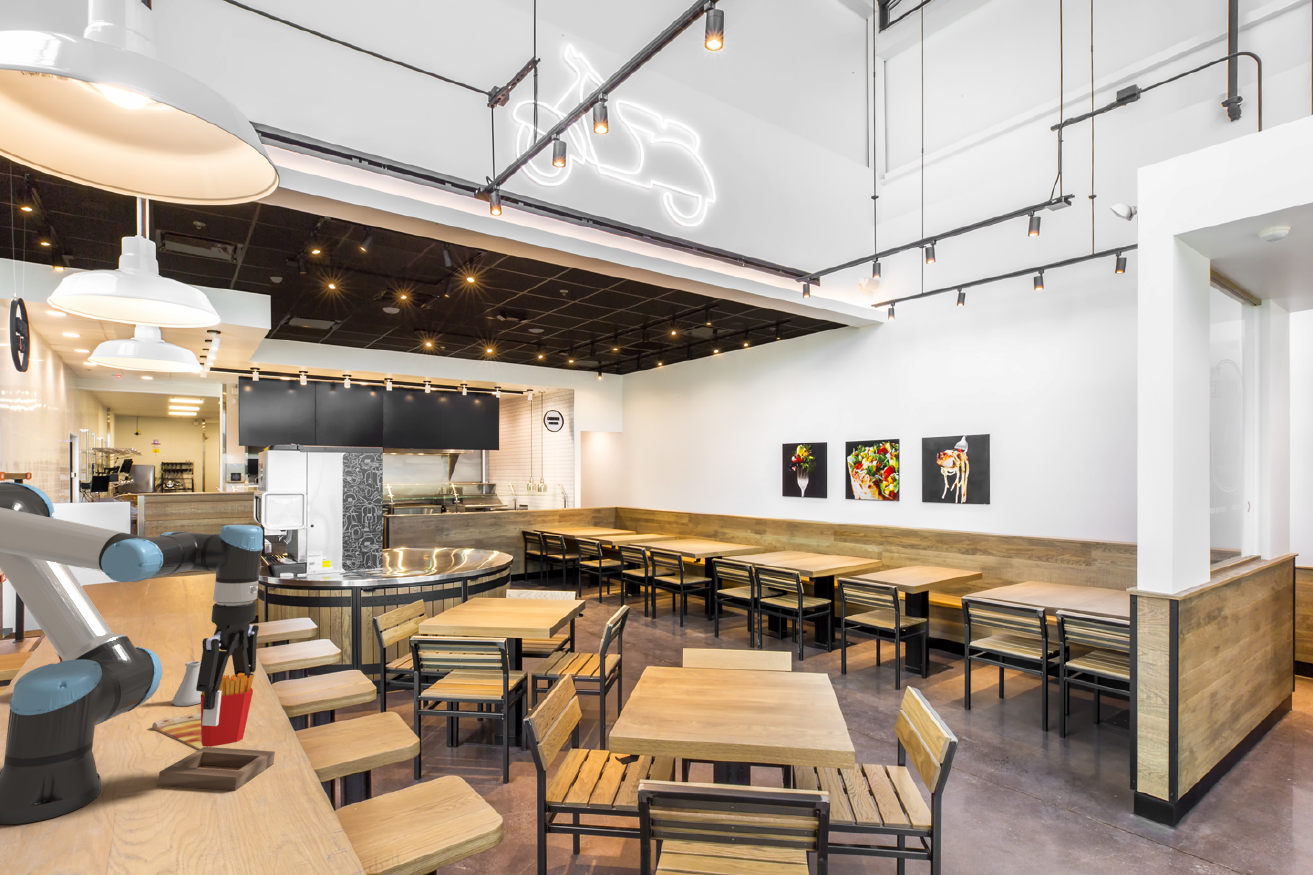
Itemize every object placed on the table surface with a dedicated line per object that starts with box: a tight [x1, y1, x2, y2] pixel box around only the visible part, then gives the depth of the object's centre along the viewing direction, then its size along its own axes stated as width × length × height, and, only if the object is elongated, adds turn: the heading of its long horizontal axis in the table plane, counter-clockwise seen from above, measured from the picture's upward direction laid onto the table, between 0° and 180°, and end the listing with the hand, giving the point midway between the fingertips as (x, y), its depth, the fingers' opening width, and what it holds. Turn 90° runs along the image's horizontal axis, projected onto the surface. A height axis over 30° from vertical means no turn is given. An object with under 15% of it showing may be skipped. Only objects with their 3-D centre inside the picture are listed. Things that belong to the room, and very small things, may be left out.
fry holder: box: [157, 746, 276, 791], centre depth 130 cm, size 12×15×2 cm
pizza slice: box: [151, 713, 207, 751], centre depth 149 cm, size 16×22×2 cm
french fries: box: [200, 673, 255, 747], centre depth 131 cm, size 9×4×13 cm, turn 130°
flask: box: [170, 660, 202, 707], centre depth 169 cm, size 7×7×10 cm
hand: (223, 717), depth 131 cm, fingers closed on french fries, 7 cm apart
